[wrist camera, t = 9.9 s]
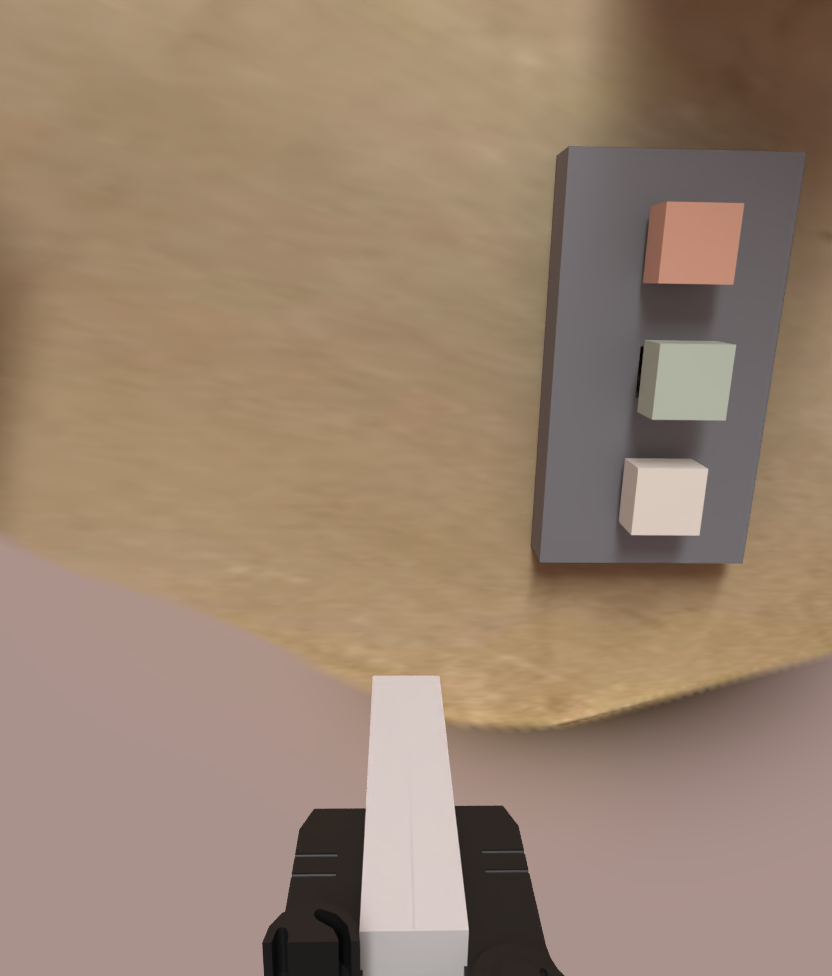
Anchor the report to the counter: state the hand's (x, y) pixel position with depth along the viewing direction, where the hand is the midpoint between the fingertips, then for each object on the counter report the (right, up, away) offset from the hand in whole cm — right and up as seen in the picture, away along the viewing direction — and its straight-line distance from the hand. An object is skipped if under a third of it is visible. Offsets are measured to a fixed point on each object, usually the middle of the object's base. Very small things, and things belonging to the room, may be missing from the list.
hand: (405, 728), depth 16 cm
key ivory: (+15, +6, +29) cm, 33 cm away
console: (+15, +13, +28) cm, 34 cm away
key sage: (+15, +12, +26) cm, 33 cm away
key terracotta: (+15, +20, +26) cm, 35 cm away
